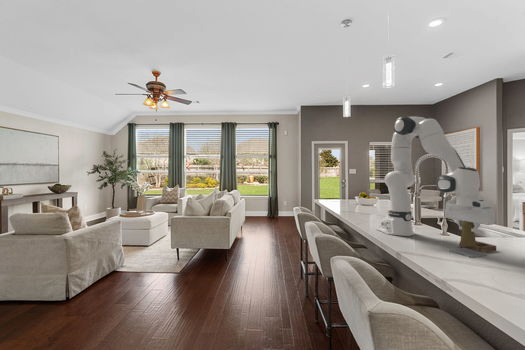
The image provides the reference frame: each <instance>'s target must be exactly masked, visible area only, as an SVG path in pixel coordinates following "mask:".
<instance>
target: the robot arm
mask: <svg viewBox="0 0 525 350" xmlns="http://www.w3.org/2000/svg"><path fill="white" fill-rule="evenodd" d="M393 130H394V133H393V134H392V138H391V145H390V147H391V149H390V161H391V164H392V166H393V170H392V171H390V172H388V173H387V174H385V176H384V183H385V185H386V186H387V188H388V193H389V198H390V203H389V204H390V208H389V209H390V210H388V211H387V213H388V214H387V216H386V217H384V218H383V219H381V220H380V223H379V226H377V227H375V230H377V231H380V232H382V233H384V234H386V235H392V236H400V237H401V236H406V237H408V236H410V237H411V236H414V235H415V233H414V230H413V224H412V210H411V209H412V207H411V206H412V204H411V203H412V201H411V199H412V198H411V196H410V195H409V191H408V188H410V187H411V186H413V185H414V184H415V182H416V176H415V173H414V170H413V169H414V168H413V165H412V145H413V144H412V142H413V139H414V138H416V139H419V141H420V144H421V146H422V148H423V150H424V151H425V153H427V154H429V155H432V156H435V157H438V158H440V159H442V160H444V161H445V162H446V164H447V165H448V167H449V169H450V170H451V171H450V172H447V173H444V174H441V175H439V176H438V178H437V179H436V181H435V185H436V188H437V190H438V191H439V192H440V193H442V194H443V193H444V194H455V200H453V199H449V200H447V201H446V202H445V210H444V217H445V219H449V220H456V224H457V226H458V229H459V230H460V231H462V226H461V222H462V221H467V222H472V223H474V225H475V226H474V228H471V232H474V234H476V233H478V229H479V227H481V225H485V226H493V225H494V224H495V222H496V215H495V210H494V208H493V207H494V203H493V202H491V201H490V200H489V201H488V200H487V199H484V198H481V194H480V187H481V182H480V181H481V179H480V174H479V171H478V169H477V168H474V167H469V166H467V167H466V165H465V164H464V161H463V160H462V159H461V156H460V155H459V153H458V152H457V149H455V148H454V147H453V146H452V144H451V143H450V142H449V140H448V138H447V137H446V134H445V132H444V130H443V128H442V127H441V124H440V123H439V122H438V121H437V120H436V119H435V118H427V117H424V116H423V117H422V116H416V115H415V116H400V117H398V118H396V120H395V121H394V125H393Z"/></svg>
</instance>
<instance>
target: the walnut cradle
mask: <svg viewBox="0 0 525 350" xmlns="http://www.w3.org/2000/svg"><path fill="white" fill-rule="evenodd" d="M476 245H477V246H465V245H461V244H460V243H459V248H461V247H462V248H467V249H471V250H474V251H478V252H482V253H485V254H486V253H490V252H491V253H492V252H496V251H497V245H495V244H490V243H485V242H483V241H482V242H481V241H478V240H476Z"/></svg>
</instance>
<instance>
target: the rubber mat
mask: <svg viewBox="0 0 525 350" xmlns="http://www.w3.org/2000/svg"><path fill="white" fill-rule="evenodd" d="M448 252H452V253H453V254H454V253H456V254H458V255H461V256H465V257H467V256H468V258H477V256H479V257H485V255H486V256H488V254H487V253H486V252H485V253H482V252H478V251H474V250H471V249H467V248H461V247H459V248H454V249H451V248H450V249H449V251H448Z"/></svg>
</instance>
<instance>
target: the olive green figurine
mask: <svg viewBox="0 0 525 350" xmlns="http://www.w3.org/2000/svg"><path fill="white" fill-rule="evenodd" d="M461 226H462V230H461V236H460V241H459V245H460V244H461V245H465V246H477V245H476V241H477V240H476V236H475V235H476V233H474V232H471V228H474V226H475V225H474V223H472V222H467V221H462V222H461Z"/></svg>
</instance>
